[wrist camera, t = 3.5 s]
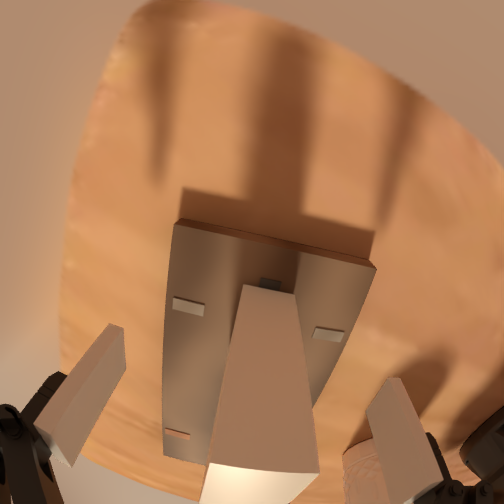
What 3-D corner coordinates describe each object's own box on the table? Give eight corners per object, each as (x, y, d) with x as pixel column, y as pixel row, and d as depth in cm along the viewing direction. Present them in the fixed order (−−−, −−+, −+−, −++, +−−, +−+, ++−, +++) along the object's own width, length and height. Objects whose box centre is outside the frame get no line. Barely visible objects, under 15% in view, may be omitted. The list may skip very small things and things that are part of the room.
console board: (369, 260, 17) (377, 269, 16) (269, 464, 26) (269, 475, 24) (181, 218, 17) (173, 224, 15) (166, 445, 25) (163, 455, 24)
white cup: (331, 469, 26) (339, 534, 17) (343, 439, 24) (357, 518, 14) (389, 459, 26) (405, 519, 16) (409, 426, 23) (434, 496, 14)
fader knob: (294, 294, 16) (319, 473, 6) (273, 359, 18) (272, 517, 7) (243, 284, 16) (209, 462, 6) (228, 350, 18) (197, 507, 7)
